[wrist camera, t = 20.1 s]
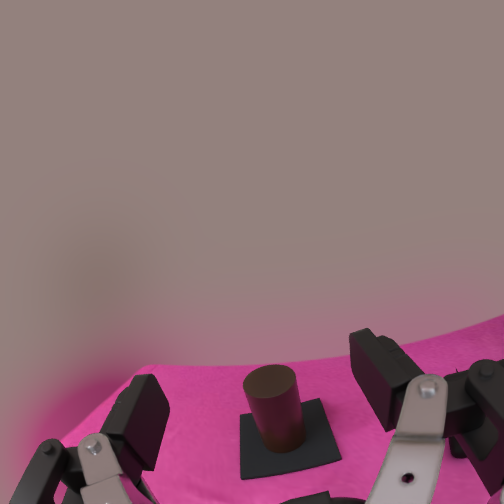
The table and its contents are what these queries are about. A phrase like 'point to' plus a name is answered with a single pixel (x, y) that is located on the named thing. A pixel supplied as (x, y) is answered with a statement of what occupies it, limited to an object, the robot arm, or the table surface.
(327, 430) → the black mat
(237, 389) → the table surface
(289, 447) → the dark brown cylinder
